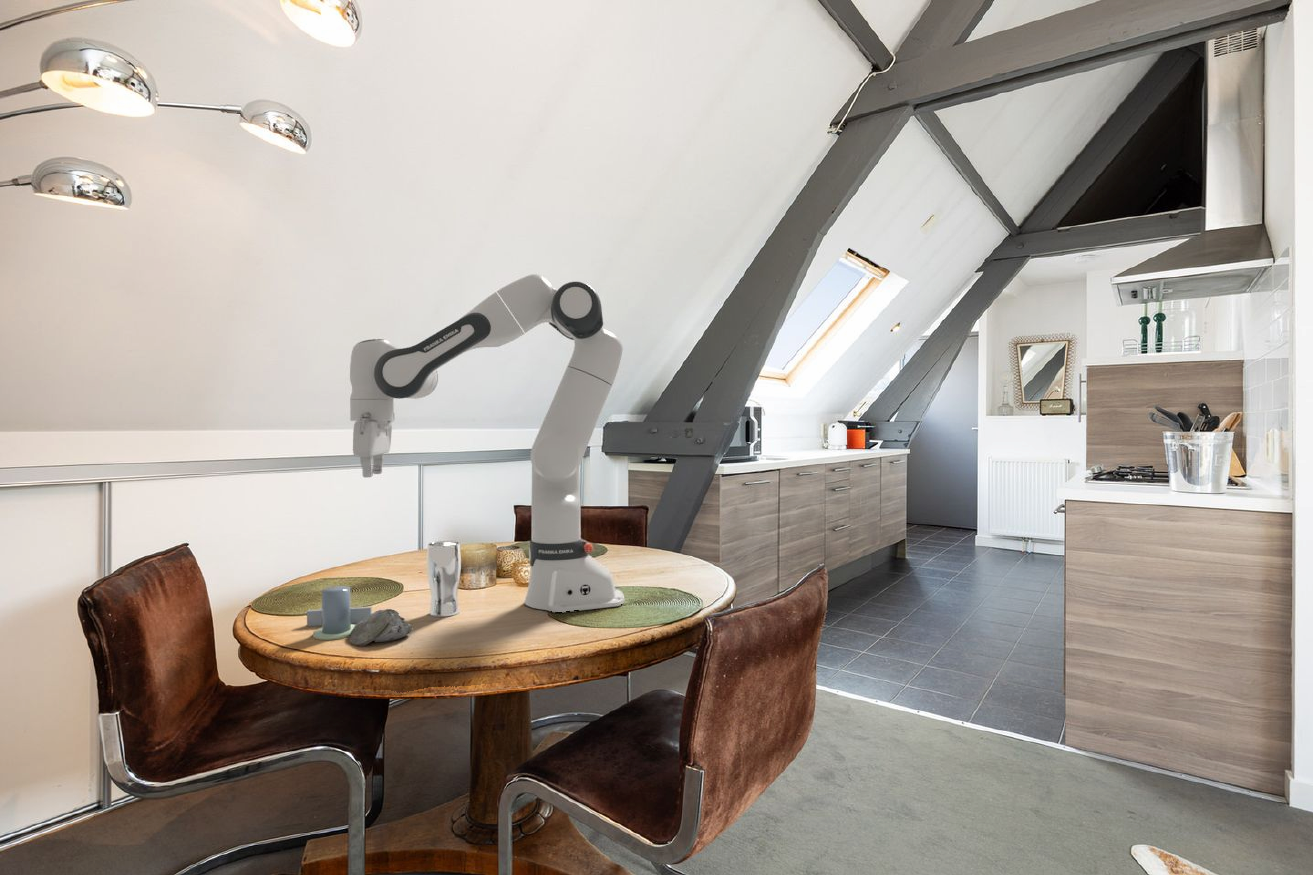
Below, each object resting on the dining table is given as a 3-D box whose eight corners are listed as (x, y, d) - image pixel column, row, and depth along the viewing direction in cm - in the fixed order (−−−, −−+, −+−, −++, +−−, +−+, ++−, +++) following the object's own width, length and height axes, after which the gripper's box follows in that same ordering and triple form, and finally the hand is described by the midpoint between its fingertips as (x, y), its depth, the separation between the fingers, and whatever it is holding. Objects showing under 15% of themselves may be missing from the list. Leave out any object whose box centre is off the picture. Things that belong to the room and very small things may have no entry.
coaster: (363, 625, 133) (363, 622, 133) (353, 638, 125) (353, 635, 125) (320, 628, 131) (320, 625, 131) (307, 641, 123) (307, 638, 123)
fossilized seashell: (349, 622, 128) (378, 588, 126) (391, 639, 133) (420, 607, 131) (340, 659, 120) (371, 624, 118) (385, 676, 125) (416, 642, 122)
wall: (371, 621, 136) (371, 606, 136) (370, 622, 135) (370, 607, 135) (308, 624, 134) (308, 609, 133) (307, 626, 133) (306, 611, 132)
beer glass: (451, 618, 137) (450, 547, 137) (420, 616, 139) (420, 545, 139) (467, 609, 144) (466, 541, 144) (438, 607, 146) (437, 540, 145)
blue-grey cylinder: (353, 625, 131) (353, 585, 131) (347, 633, 126) (346, 591, 126) (326, 627, 130) (325, 586, 130) (318, 635, 125) (318, 593, 125)
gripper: (377, 412, 137) (377, 479, 137) (395, 413, 157) (396, 472, 157) (344, 412, 135) (345, 479, 136) (367, 413, 156) (368, 472, 156)
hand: (372, 475), depth 147 cm, fingers open, 8 cm apart
